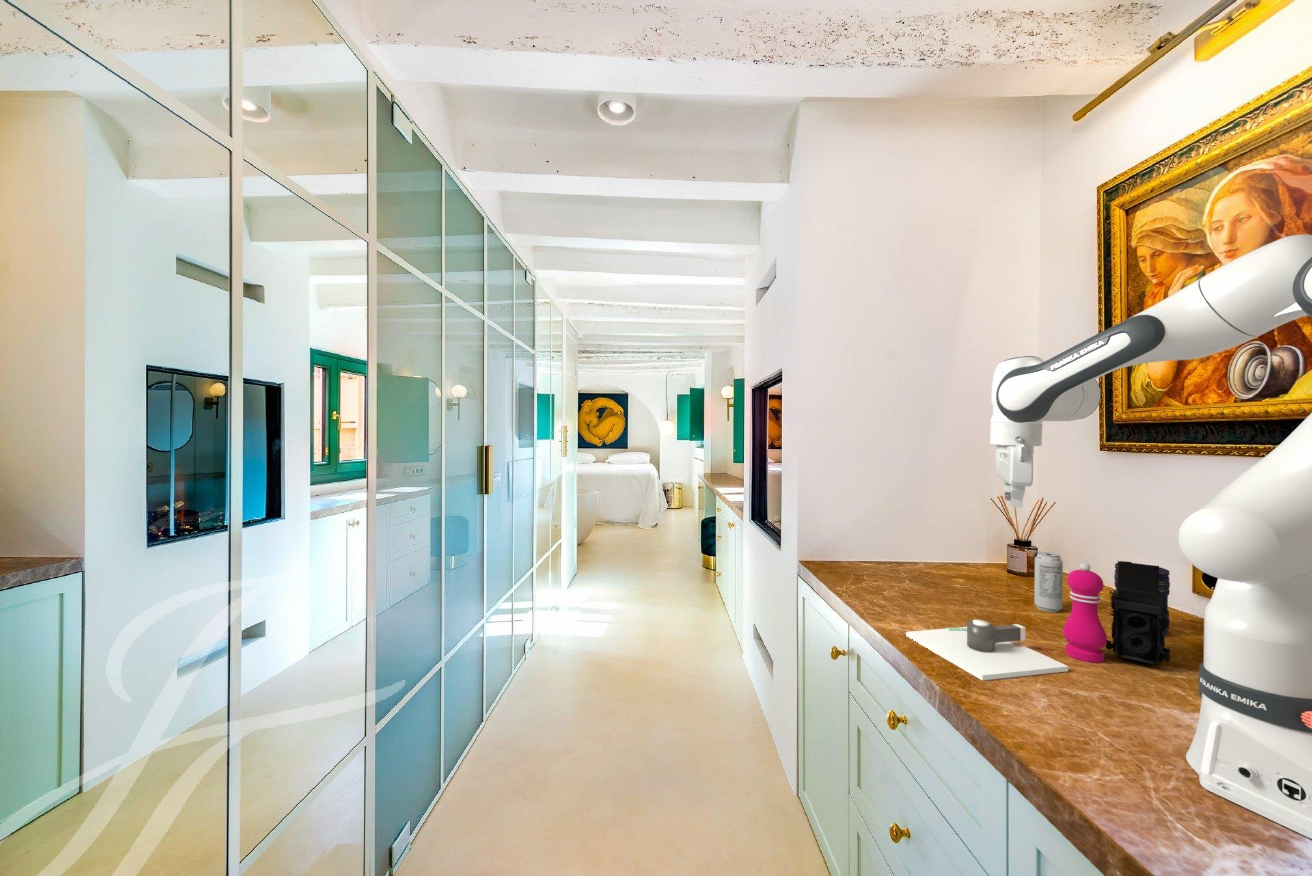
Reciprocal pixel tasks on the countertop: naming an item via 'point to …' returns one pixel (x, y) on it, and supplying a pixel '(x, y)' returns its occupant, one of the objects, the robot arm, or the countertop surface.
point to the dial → (991, 634)
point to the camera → (1138, 615)
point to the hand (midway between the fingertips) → (1012, 503)
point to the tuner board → (986, 655)
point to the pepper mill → (1085, 616)
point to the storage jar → (1163, 589)
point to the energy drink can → (1048, 581)
